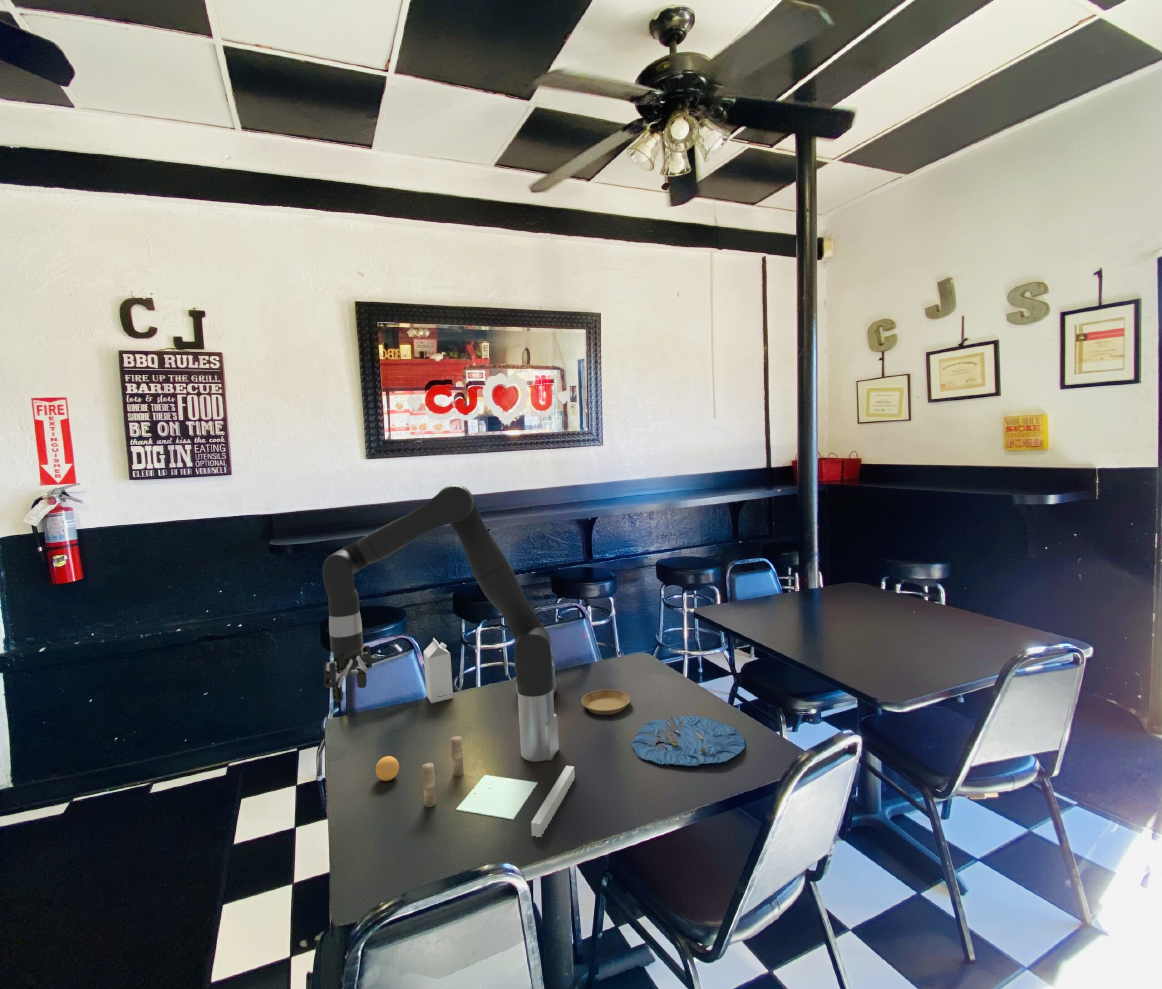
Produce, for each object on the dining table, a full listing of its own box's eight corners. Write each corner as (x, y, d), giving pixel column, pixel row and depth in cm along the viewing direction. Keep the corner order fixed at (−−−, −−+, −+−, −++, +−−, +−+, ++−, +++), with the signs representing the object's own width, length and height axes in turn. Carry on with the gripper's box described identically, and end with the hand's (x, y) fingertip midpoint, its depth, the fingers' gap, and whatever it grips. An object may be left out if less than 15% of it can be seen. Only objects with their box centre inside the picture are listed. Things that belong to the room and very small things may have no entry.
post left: (438, 801, 134) (435, 763, 133) (432, 808, 132) (429, 769, 131) (428, 799, 135) (426, 762, 134) (422, 806, 133) (419, 768, 132)
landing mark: (537, 783, 139) (537, 782, 139) (513, 819, 126) (513, 819, 126) (485, 775, 144) (485, 774, 144) (456, 810, 131) (456, 809, 131)
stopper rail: (574, 778, 141) (574, 766, 141) (540, 838, 120) (540, 824, 120) (566, 777, 141) (566, 765, 141) (531, 836, 121) (531, 822, 120)
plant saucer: (574, 715, 174) (574, 706, 174) (591, 694, 188) (591, 687, 188) (622, 721, 169) (621, 713, 169) (635, 700, 183) (635, 692, 183)
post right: (465, 771, 146) (463, 736, 145) (460, 777, 144) (458, 742, 143) (456, 770, 147) (454, 735, 146) (451, 775, 144) (448, 740, 144)
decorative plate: (610, 740, 162) (608, 722, 161) (696, 712, 175) (695, 695, 175) (673, 789, 135) (672, 767, 135) (769, 751, 149) (768, 732, 149)
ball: (404, 774, 146) (402, 753, 146) (390, 786, 141) (389, 765, 140) (385, 771, 148) (384, 750, 147) (371, 783, 143) (369, 762, 142)
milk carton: (431, 704, 186) (427, 646, 185) (426, 696, 192) (422, 639, 191) (453, 698, 189) (449, 641, 188) (447, 691, 196) (443, 635, 194)
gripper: (337, 641, 137) (342, 708, 138) (377, 623, 150) (381, 684, 152) (312, 639, 139) (317, 704, 141) (353, 621, 153) (357, 681, 154)
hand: (350, 694), depth 146 cm, fingers open, 8 cm apart
